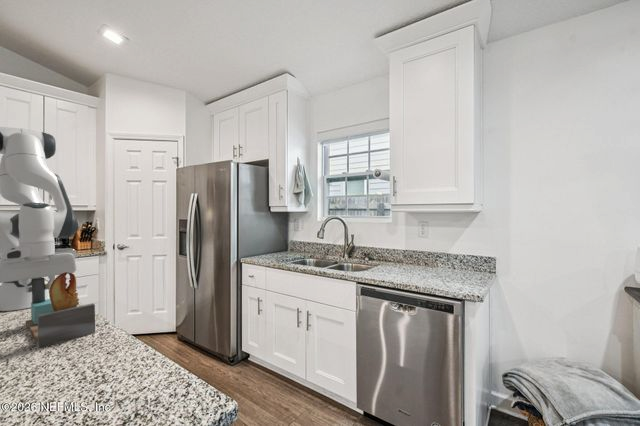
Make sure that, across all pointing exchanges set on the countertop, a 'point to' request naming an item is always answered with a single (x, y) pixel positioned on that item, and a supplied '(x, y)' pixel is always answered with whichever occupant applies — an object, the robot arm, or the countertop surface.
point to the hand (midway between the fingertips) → (38, 290)
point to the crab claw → (63, 292)
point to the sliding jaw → (39, 300)
